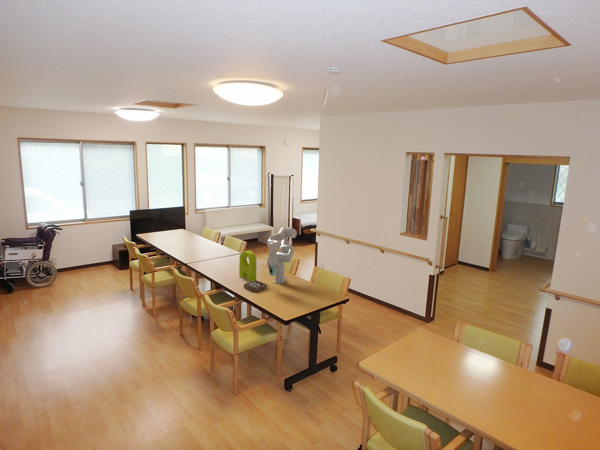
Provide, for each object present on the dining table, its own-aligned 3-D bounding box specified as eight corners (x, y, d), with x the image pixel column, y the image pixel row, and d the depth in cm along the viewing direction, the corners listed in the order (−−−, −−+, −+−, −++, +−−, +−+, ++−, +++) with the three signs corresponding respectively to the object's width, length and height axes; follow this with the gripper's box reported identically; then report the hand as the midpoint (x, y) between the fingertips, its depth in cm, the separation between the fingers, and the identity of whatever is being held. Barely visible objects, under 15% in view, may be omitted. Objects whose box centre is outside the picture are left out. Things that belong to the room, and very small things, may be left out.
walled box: (255, 284, 383) (256, 280, 382) (266, 288, 372) (266, 284, 371) (243, 288, 371) (243, 283, 370) (254, 292, 360) (254, 288, 360)
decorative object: (256, 280, 396) (256, 252, 390) (251, 281, 391) (251, 253, 386) (244, 275, 409) (244, 248, 404) (239, 276, 404) (239, 249, 399)
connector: (272, 274, 372) (272, 263, 370) (274, 274, 370) (275, 264, 368) (269, 274, 369) (269, 264, 367) (272, 275, 367) (272, 265, 365)
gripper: (276, 252, 374) (275, 269, 378) (263, 255, 362) (263, 273, 365) (281, 253, 369) (280, 271, 373) (269, 256, 357) (268, 275, 361)
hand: (272, 272), depth 369 cm, fingers closed on connector, 3 cm apart
